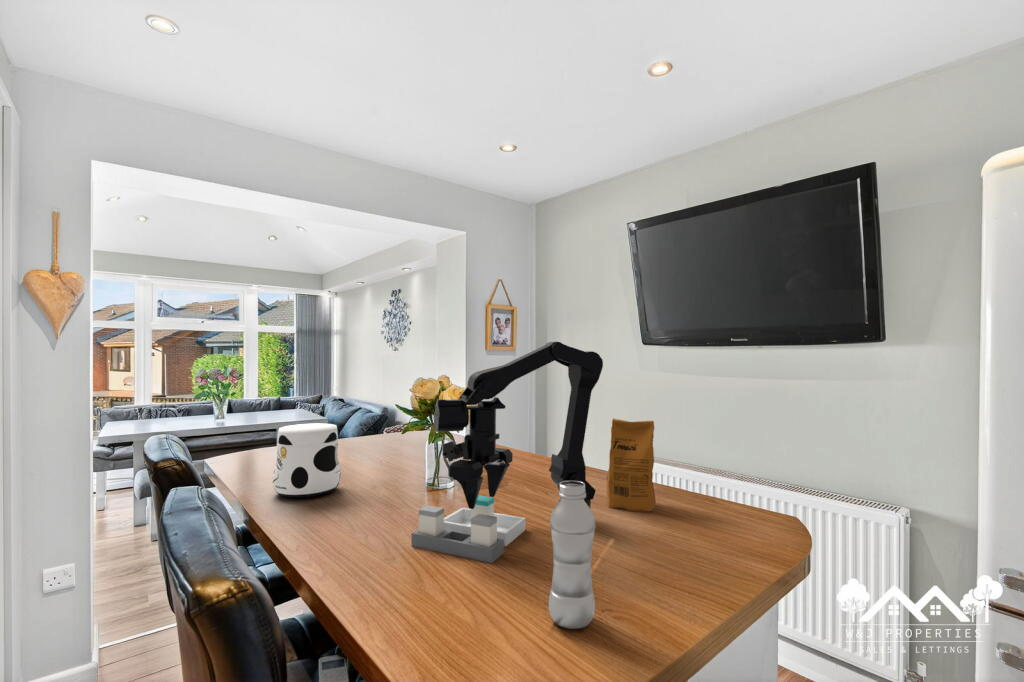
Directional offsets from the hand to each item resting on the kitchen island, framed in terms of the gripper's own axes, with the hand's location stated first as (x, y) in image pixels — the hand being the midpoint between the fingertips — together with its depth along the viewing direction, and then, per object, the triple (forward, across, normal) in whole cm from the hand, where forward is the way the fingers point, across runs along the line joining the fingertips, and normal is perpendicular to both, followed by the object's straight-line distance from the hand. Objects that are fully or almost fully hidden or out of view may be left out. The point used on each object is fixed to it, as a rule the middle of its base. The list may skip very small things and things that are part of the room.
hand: (482, 502), depth 104 cm
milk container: (+7, -6, -58) cm, 59 cm away
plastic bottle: (+7, +24, +28) cm, 38 cm away
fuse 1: (+6, +10, -6) cm, 13 cm away
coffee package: (+7, -34, +25) cm, 43 cm away
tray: (+7, 0, 0) cm, 7 cm away
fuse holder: (+7, +10, 0) cm, 12 cm away
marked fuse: (+6, 0, 0) cm, 6 cm away
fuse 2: (+6, +10, +6) cm, 14 cm away
